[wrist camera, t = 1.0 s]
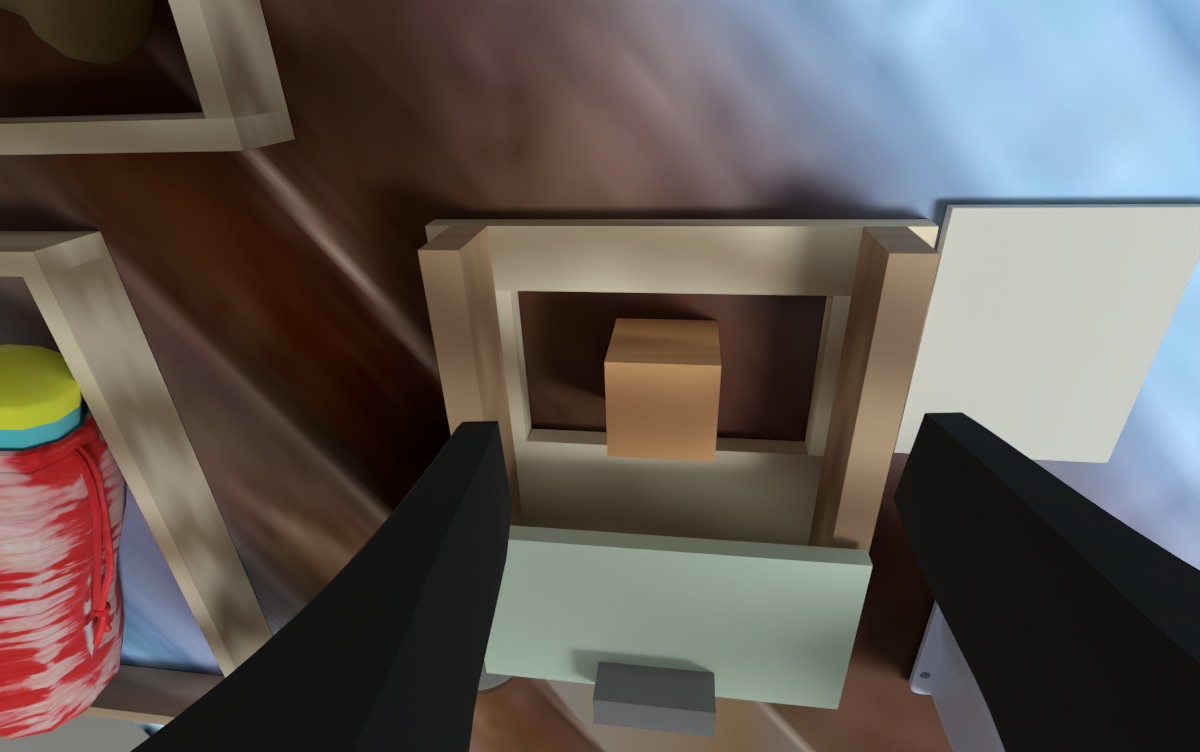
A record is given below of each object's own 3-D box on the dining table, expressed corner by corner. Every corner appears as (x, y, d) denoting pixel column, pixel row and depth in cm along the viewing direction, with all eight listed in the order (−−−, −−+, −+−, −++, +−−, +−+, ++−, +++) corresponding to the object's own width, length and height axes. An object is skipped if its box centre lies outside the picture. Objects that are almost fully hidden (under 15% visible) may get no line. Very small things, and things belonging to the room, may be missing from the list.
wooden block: (711, 406, 26) (714, 461, 22) (618, 402, 26) (607, 456, 23) (717, 319, 24) (721, 365, 20) (617, 317, 24) (604, 361, 21)
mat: (1099, 455, 24) (1107, 463, 24) (890, 445, 25) (894, 452, 25) (1209, 203, 20) (1221, 207, 19) (947, 204, 21) (952, 207, 20)
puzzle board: (839, 617, 30) (859, 693, 27) (494, 588, 33) (470, 654, 29) (928, 219, 21) (977, 254, 17) (434, 219, 23) (388, 249, 20)
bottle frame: (296, 693, 40) (269, 737, 38) (61, 666, 43) (20, 706, 40) (100, 231, 26) (32, 251, 23) (-241, 230, 28) (-337, 249, 25)
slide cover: (833, 691, 27) (846, 751, 24) (491, 657, 29) (474, 710, 26) (867, 550, 23) (886, 605, 20) (467, 522, 25) (444, 570, 22)
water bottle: (-144, 680, 34) (-284, 309, 22) (18, 582, 41) (-19, 259, 29) (28, 796, 33) (-18, 477, 21) (163, 675, 40) (188, 383, 28)
